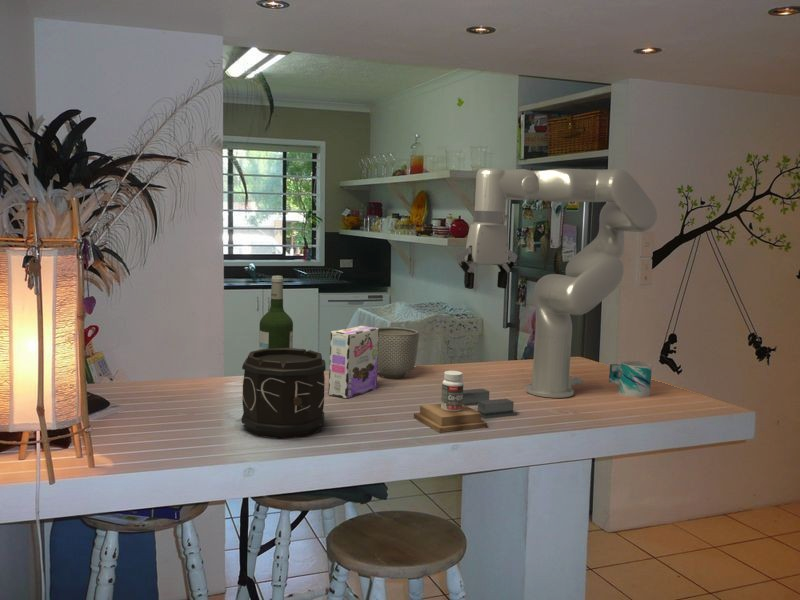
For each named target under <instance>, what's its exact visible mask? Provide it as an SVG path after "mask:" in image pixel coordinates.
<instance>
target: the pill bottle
mask: <svg viewBox="0 0 800 600" xmlns="http://www.w3.org/2000/svg"><path fill="white" fill-rule="evenodd" d="M443 373H444V374H443V375H444V376H443V377H444V379H443V381H442V382H441V399H440V404H441V408H442V409H443V410H445V411H450V412H457V411H461V410H462V400H463V390H464V382H463V381H462V380H463V372H461V371H459V370H458V371H457V370H445V371H444V372H443Z"/></svg>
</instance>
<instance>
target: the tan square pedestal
mask: <svg viewBox="0 0 800 600" xmlns="http://www.w3.org/2000/svg"><path fill="white" fill-rule="evenodd" d="M413 419H414V420H417V421H419V422H421V424H424V425H426V427H429V428H430V429H432V430H434V431H436V432H437V433H450V432H458V431H466V430H467V431H468V430H475V429H476V430H477V429H486V428H488V422H486V421H484V420H482V417H481V413H480V412H478V410H475V409H474V408H471V407H470V406H468V405H463V404H462V410H461V411H457V412H450V411H445V410H443V409H442V408H441V403H436V404H434V403H433V404H423V405H419V412H415V413H413Z"/></svg>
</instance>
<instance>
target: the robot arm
mask: <svg viewBox="0 0 800 600" xmlns="http://www.w3.org/2000/svg"><path fill="white" fill-rule="evenodd" d="M474 193H475V196H474V197H475V198H474V214H473V215H474V216H473V217H474V218H473V223H471V224H470V226H469V229H468V234H467V237H466V243H465V244H466V246H465V248H464V249H463V250H461V251H460V252H457V253H456V255H455V257H456V260H457V262H458V266H459V267H460V268H461V269H462V271H463V272H464V275H463V277H464V279H463V283H464V284H463V285H464V289H469V290H473V289H474V287H475V272H473V271H475V269H476V267H477V266H497V267H498V269H499V271H498V272H497V284H496V285H497V288H499V289H504V290H505V289H507V286H508V278H509V277H508V276H509V275H508V274H509V273H510V272H511V269H512V268H513V267H514V266H515V263H516V261H517V259H518V255H517V254H516V253H515V252H514V251H512V250H510V249H509V236H508V227H507V225H505V223H506V221H508V220H509V215H508V214H506V204H507V202H506V201H507V200H508V201H510V200H511V201H512V200H513V201H517V200H518V201H523V200H527V201H528V200H529V201H531V200H533V201H544V202H553V203H555V202H556V203H559V202H561V203H605V204H604V205H603V207H602V208H601V210H600V213H599V222H598V223H599V227H598V232H597V235H596V237H595V238H594V239H593V240H592V241H591V242H590V243H589V244H587V245H586V246H584V248H582V249H581V250H580V251H579V252H577V253H576V254H575V255H574V256H573V257H571V258H570V260H569V261H568V262H567V263H566V267H565V275H564V274H558V273H550V274H546V275H543V276H542V277H541V278H539V279H538V280H537V282H536V283H535V285H534V290H533V301H534V308H535V310H534V311H535V332H534V344H533V346H534V347H533V360H532V361H533V362H532V376H531V383H528V384H526V385H525V391H526V392H527V393H528V394H531V395H534V396H538V397H543V398H551V399H552V398H553V399H554V398H555V399H559V398H560V399H562V398H563V399H564V398H570V397H572V396H574V393H575V390H574V389H573V388H572V387H573V386H574V385H576V386H578V385H582V384H583V383H584V379H583V378H582V376H581V377H580V376H578V377H573V376H571V375H570V367H571V365H570V364H571V351H572V350H571V349H572V338H573V322H572V318H571V316H572V315H573V316H582V315H584V314H586V313H589V312H590V311H591V310H593V309H595V308H596V307H597V306H598V305H599V304H600V303H601V302H602V301H603V300H605V299H606V298H607V297H608V296H609V295H610V294H611V293H613V292H614V291H615V290H616V289H617V287H618V286H619V285H620V284H621V281H622V280H623V277H624V272H625V270H624V265H623V263H622V260H621V258H622V256H623V255H624V251H625V232H632V233H644V232H647V231H649V230H651V229H652V228H654V226H655V224H656V222H657V220H658V219H657V218H658V213H657V212H658V211H657V208H656V205H655V204H654V202H653V201H652V199H651V198H650V197H649V195H648V194H647V193H646V192H645V190H644V189H643V188H642V186H641V185H640V184H639V183H638V181H637V180H636V179H635V178H634V177H633V176H632V175H631V174H630V173H629V172H627V171H626V170H624V169H621V168H611V169H591V168H590V169H586V168H585V169H584V168H583V169H582V168H552V169H550V168H549V169H544V170H543V169H542V170H541V169H540V170H529V169H524V168H520V169H519V168H517V169H516V168H515V169H503V168H499V167H498V168H496V167H484V168H479V169H478V170H477V172H476V177H475V191H474Z"/></svg>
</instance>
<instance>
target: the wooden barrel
mask: <svg viewBox="0 0 800 600" xmlns="http://www.w3.org/2000/svg"><path fill="white" fill-rule="evenodd" d="M322 355H323V354H322V353H320V352H318V351H314V350H311V349H309V350H306V349H305V348H293V347H292V348H268V349H261V350H259V349H257V350H253V351H250V352H249V354H248V355H247V357H246V358H245V360H244V362H243V364H242V367H241V369H242V370H244V373H243V381H242V411H243V414H242V416H241V419H240V420H241V423H242V424H243V425H245V430H246V431H248V432H249V433H252V434H254V435H256V436H257V437H264V438H272V439H279V440H280V439H292V438H304V437H307V436H310V435H312V434H315V433H317V432H319V431H320V428H321V426H322V425H323V424H324V422H325V412H324V405H325V385H326V384H325V383H326V382H325V381H326V380H325V372H326V368H327V367H326V360H324V359H323V356H322Z"/></svg>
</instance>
